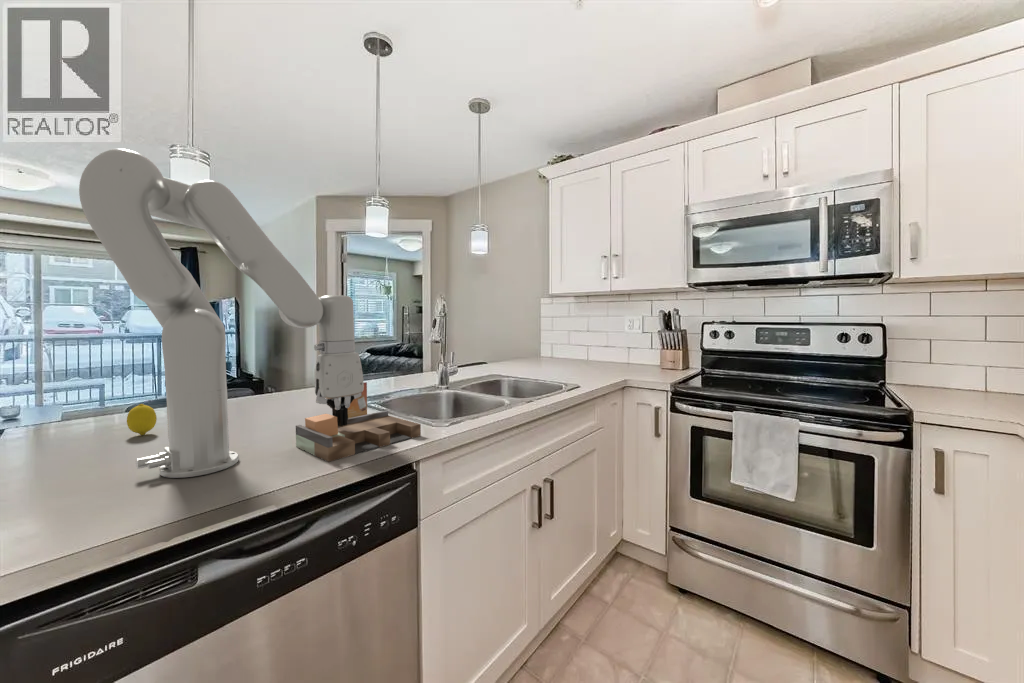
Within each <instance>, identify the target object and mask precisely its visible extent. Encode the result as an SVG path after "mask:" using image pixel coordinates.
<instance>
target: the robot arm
mask: <svg viewBox="0 0 1024 683" xmlns="http://www.w3.org/2000/svg"><path fill="white" fill-rule="evenodd" d="M78 186H79V188H78V190H79V191H78V193H79V194H78V196H79V201H80V206H81V208H82V211H83V213H84V216H85V218H86V220H87V222H88V224H89V227H91V229H92V231H93V232H94V234H95V235H96V237H97V238H98V239H99V241H100V243H101V244H102V246H103V248H104V249H105V250H106V253H107V254H108V255H109V257H110V259H111V261H112V262H113V263H114V265H115V266H116V267H117V269H118V270H119V272H120V274H121V275H122V276H123V278H124V280H125V281H126V283H127V285H128V286H129V288H130V290H131V292H132V294H134V295H135V297H136V298H137V299H139V301H142V302H144V303H145V304H146V306H147V307H148V309H149V310H150V311H151V313H152V314H153V316H154V318H155V319H156V320H157V321H158V323H159V324H160V326H161V327H162V331H161V347H162V355H163V356H162V357H163V364H164V365H163V366H164V378H165V379H164V381H165V395H166V413H167V435H168V436H167V437H168V439H167V440H168V446H165V447H163V451H161V452H158V453H157V454H155V455H150V456H143V457H137V458H136V459H135V466H136V469H137V470H140V469H145V468H148V470H150V469H156V468H158V467H159V468H158V470H159V475H160V476H162V477H164V478H169V479H180V478H181V479H184V478H185V479H186V478H192V477H194V478H195V477H198V476H204V475H210V474H213V473H216V472H220V471H223V470H225V469H228V468H230V467H233V466H234V465H236V464H237V462H239V459H240V458H239V457H240V456H239V453H238V452H236V451H233V450H230V434H229V411H228V410H229V408H228V405H229V404H228V386H227V385H228V384H227V361H226V360H227V359H226V358H227V356H226V355H227V353H226V348H227V344H226V343H227V342H226V337H227V336H226V329H225V325H224V323H223V322H222V320H221V318H220V317H219V316H218V314H217V312H216V311H215V309H214V308H213V306H212V304H211V303H210V302H209V300H208V298H207V296H205V294H204V292H203V291H202V289H201V288H200V286H199V284H198V283H197V281H196V279H195V278H194V277H193V275H192V273H191V272H190V271H189V270H188V268H187V267H185V266H184V264H182V263H181V261H180V259H179V258H177V256H176V254H175V252H174V251H173V250H172V249H171V247H170V245H169V244H168V242H167V241H166V239H165V237H164V236H163V234H162V232H161V230H160V229H159V228H158V226H157V224H156V222H155V221H154V219H153V218H152V217H155V218H159V219H162V220H166V221H170V222H174V223H178V224H181V225H184V226H187V227H192V228H195V229H201V230H204V231H205V232H206V233H207V234H208V235H209V237H210V238H211V240H213V242H215V244H216V245H217V246H218V247H219V248H220V250H221V251H222V252H223V254H224V255H225V256H226V257H227V258H228V260H229V261H230V262H231V263H232V264H233V265H234V266H235V267H236V268H237V269H238V270H239V271H240V272H241V273H242V274H244V275H246V276H247V277H248V278H250V279H251V280H252V281H254V283H256V284H257V285H258V286H259V288H261V290H263V292H264V293H265V294H266V296H268V298H269V299H270V300H271V301H272V302H273V303H274V305H275V306H276V307H277V308H278V314H279V317H280V319H281V320H282V321H283V322H284V323H285V324H286V325H288V326H291V327H293V328H298V329H300V328H301V329H308V328H312V327H314V326H317V325H318V326H319V327H318V330H319V331H318V332H319V333H318V335H319V341H318V344H314V347H313V348H314V351H318V352H319V353H320V354H318V355H317V356H316V363H315V369H314V393H315V395H316V398H315V403H317V404H319V405H327V406H328V407H329V408H330V409H332V411H331V413H332V414H331V415H333V416H336V417H337V422H338V426H343V425H347V420H348V408H349V407H350V404H351V402H352V401H353V400H354V399H356V398H358V397H360V396H361V395H362V394H361V392H362V391H363V389H364V382H365V381H364V374H363V373H364V372H363V368H362V367H363V366H362V360H361V358H360V354H359V352H356V347H355V345H356V344H355V321H354V320H355V318H354V313H355V312H354V302H353V299H352V297H351V296H349V295H343V294H341V295H339V294H336V295H335V294H331V295H330V294H328V295H327V294H326V295H322V296H318V295H317V294H316V292H315V291H314V289H312V288H311V286H310V285H309V284H308V283H307V281H306V280H305V278H303V276H302V275H301V274H300V273H299V271H298V270H297V269H296V268H295V267H294V266H293V264H292V263H290V261H289V260H288V259H287V258H286V257H285V256H284V255H283V253H282V252H281V251H280V250H279V249H278V248H277V247H276V245H274V243H273V242H272V241H271V240H270V238H269V237H268V235H267V234H266V233H265V231H263V229H261V228H260V226H259V224H258V223H257V222H256V221H255V220H254V218H253V217H252V216H251V214H250V213H249V211H248V210H247V209H246V208H245V207H244V205H243V204H242V203H241V201H240V200H239V199H238V197H237V196H236V195H235V194H234V193H233V192H232V191H231V190H230V189H229V188H228V187H227V186H226V185H224V184H223V183H221V182H219V181H216V180H212V179H204V180H199V181H196V182H194V183H192V184H191V185H190V184H187V183H184V182H181V181H178V180H176V179H172V178H168V177H166V176H163V174H162V172H161V171H160V169H159V167H157V166H156V164H155V163H154V162H153V161H151V160H150V159H148V158H147V157H146V156H145V155H143V154H141V153H139V152H137V151H134V150H130V149H126V148H113V149H108V150H105V151H103V152H101V153H99V154H98V155H96V156H94V158H93V159H91V161H89V163H88V164H87V165H86V166H85V168H84V169H83V171H82V173H81V176H80V180H79V185H78ZM339 397H340V402H339Z"/></svg>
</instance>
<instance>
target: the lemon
mask: <svg viewBox="0 0 1024 683" xmlns="http://www.w3.org/2000/svg"><path fill="white" fill-rule="evenodd" d="M157 420H158V418H157V412H156V411H155V409H154V408H153V407H151V406H149V405H147V404H144V403H140V404H138V405H136V406H134V407H132V408H131V409H130V410H129V411H128V413H127V416H126V425H127V427H128V430H129V431H130V432H133V433H135V434H138V435H140V436H144V435H145V434H146V433H148V432H150V431H151V430H153V429H154V427H155V426H156V424H157Z"/></svg>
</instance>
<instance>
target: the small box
mask: <svg viewBox="0 0 1024 683" xmlns="http://www.w3.org/2000/svg"><path fill="white" fill-rule="evenodd" d="M363 382H364V389H363V391H362V392H361V394H362V395H361V396H360V397H358V398H356V399H354V400H353V401H352V402H351V404H350V407H349V408H348V418H352V417H357V416H362V415H367V414H368V383H367V381H363ZM339 402H340V397H339Z"/></svg>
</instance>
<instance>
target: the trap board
mask: <svg viewBox="0 0 1024 683" xmlns="http://www.w3.org/2000/svg"><path fill="white" fill-rule="evenodd" d="M421 426H422V425H421V423H417V422H414V421H410V420H406V419H404V418H399V417H396V416H392V415H389V410H383V411H376V412H373V413H367V415H362V416H357V417H352V418H348V420H347V425H343V426H338V434H336V435H332V436H328V435H325V434H323V433H320V432H317V431H315V430H312V429H310V428H307V427H305V425H302V424H298V425H295V446H296V448H297V447H298V448H297V449H299V448H300V450H301V451H304V450H305V451H304V452H306V453H308V452H309V453H308V454H310V453H311V455H312V454H313V455H312V456H314V455H315V457H316V458H319V457H320V458H319V459H321V458H322V459H321V460H323V459H324V460H323V461H325V460H326V461H325V462H328V463H329V462H333V461H337V460H340V459H343V458H346V457H350V456H355V455H357V454H361V453H362V454H363V453H365V452H368V451H372V450H376V449H380V448H382V447H386V446H390V445H394V444H397V443H401V442H403V441H407V440H411V439H415V438H418V437H421V435H422V434H421V431H422V430H421V428H422V427H421Z"/></svg>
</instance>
